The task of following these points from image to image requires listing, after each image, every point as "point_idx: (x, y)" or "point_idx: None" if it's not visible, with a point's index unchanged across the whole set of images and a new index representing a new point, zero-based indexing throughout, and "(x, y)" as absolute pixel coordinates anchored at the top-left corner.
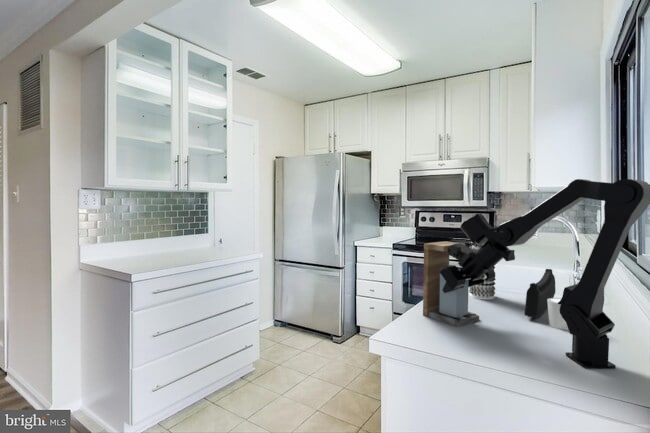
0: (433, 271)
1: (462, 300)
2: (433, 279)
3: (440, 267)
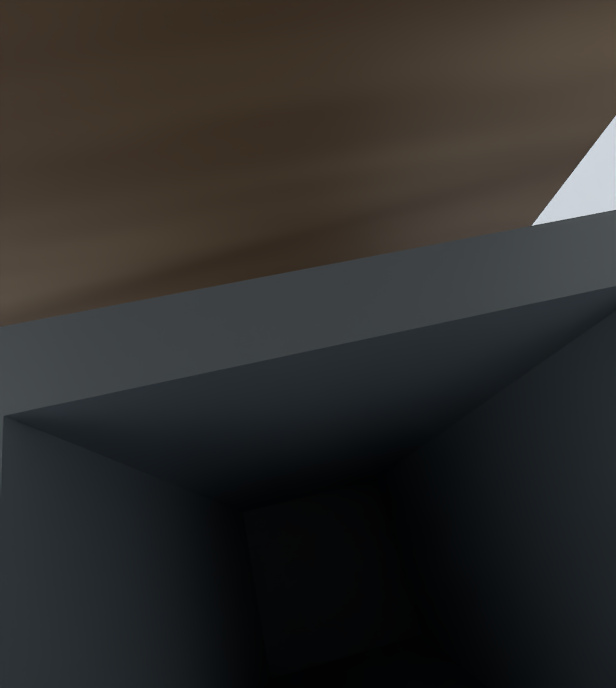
0: (52, 134)
1: None
2: (133, 266)
3: (351, 10)
